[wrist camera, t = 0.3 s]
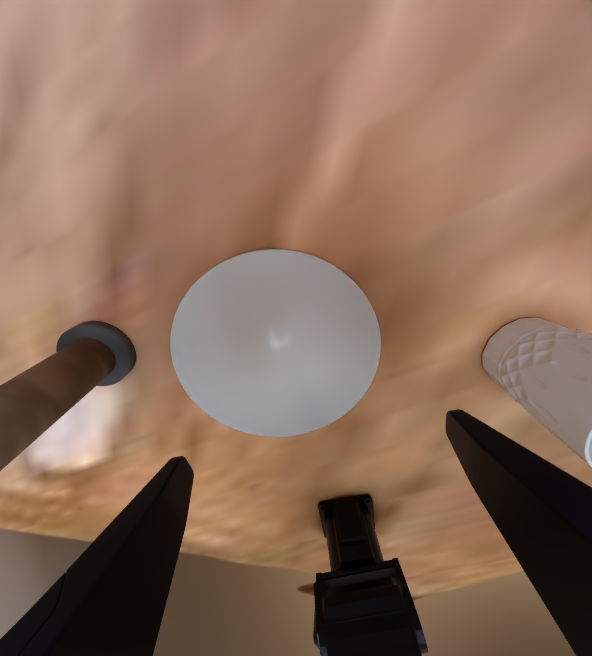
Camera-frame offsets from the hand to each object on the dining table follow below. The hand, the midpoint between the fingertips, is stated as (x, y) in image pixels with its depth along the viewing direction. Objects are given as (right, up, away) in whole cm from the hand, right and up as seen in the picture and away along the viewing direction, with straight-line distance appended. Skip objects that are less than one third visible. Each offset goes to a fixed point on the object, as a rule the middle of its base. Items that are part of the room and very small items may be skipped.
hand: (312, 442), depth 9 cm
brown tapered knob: (-17, +2, +14) cm, 22 cm away
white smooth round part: (-2, +2, +15) cm, 15 cm away
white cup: (+20, +2, +16) cm, 26 cm away
